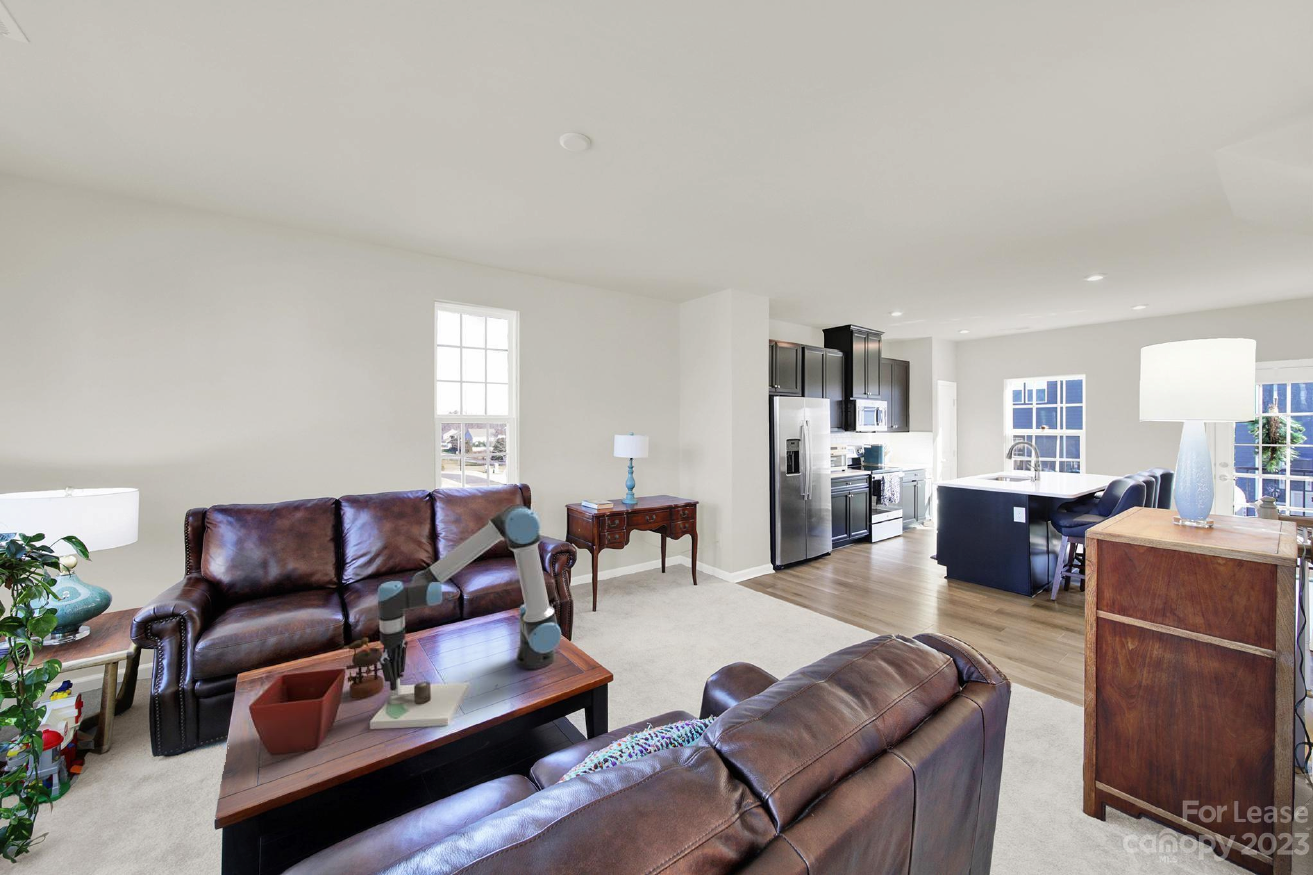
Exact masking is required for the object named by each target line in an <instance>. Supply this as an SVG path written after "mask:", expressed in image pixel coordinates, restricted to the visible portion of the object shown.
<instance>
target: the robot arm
mask: <svg viewBox="0 0 1313 875" xmlns="http://www.w3.org/2000/svg"><path fill="white" fill-rule="evenodd" d="M540 529H541V523H540V520H539V517H538V516H537V514H536V513H535V511H533V510H531V509H529V508H528V507H527V506H525V505H523V504H520V503H519V504H518V503H514V504H513V503H512V504H510V505H508V506H507V507H505V508H504V509H503V510H501V511H499V512H498V513H496V515H494V516H493V517H492V518H490V519H489V520H488V522H487V525H485V526H483V527H482V528H480V529H479V531H477V532H476V533H474V534H473V535H472V536H470V537H468V538H467V539H466V540H465V541H463V542H462V543H460V544H459V545H458V546H456V547H454V549H453V550H451V551H450V552H448V553H447V554H446V555H444V556H443V557H441V558H440V559H439V560H437V561H436V562H435V563H433V564H432V565H430V566H429V567H427V568H426V569H425V570H422V571H419V572H417V573H416V574H414V575H413V577H412V578H411V581H410V586H404V584H403V582H402V581H399V580H396V581H394V580H392V581H387V582H383V583H381V584H380V585H379V586H378V589H377V606H378V607H377V608H378V620H379V623H378V624H379V631H380V632H379V641H380V644H381V645H382V646H383V650H382V657H379V659H378V661H379V662H378V663H379V664H380V668H382V670H381V671H382V675H383V680H384V682H387V683H389V688H390V696H391V695H401V678H404V674H403V673H404V672H405V669H406V658H407V648H408V645H409V642H408V641H404V640H405V639H406V627H405V626H406V619H405V610H406V611H407V610H408V611H409V610H412V609H420V608H425V607H433V606H435V605H436V606H437V605H440V604H441V603H442V602H443V591H442V584H443V583H445V582H446V581H447V580H448V579H450V578H452V577H453V576H454V575H455V574H457V573H458V572H460V571H461V570H462V569H463V568H465V567H466V566H467V565H468V564H470V563H471V562H473V561H474V560H475V559H476V558H478V557H480V555H482V554H483V553H485V552H486V551H488V550H489V549H490V548H492V547H493V546H494V545H495V544H497V543H498V542H500V541H505V540H506V541H507V546H508V549H509V550H511V551H512V552H513V554H514V558H515V565H516V568H517V573H518V578H519V583H520V588H521V594H522V598H523V603H524V604H521V605H520V606H519V607H518V608H519V610H518V618H519V646H518V649H517V653H516V656H515V665H516V666H517V667H519V668H521V669H525V670H536V669H537V670H538V669H542V668H546V667H548V666H549V665H551V664H552V663H553V662H555V659H556V653H555V649H556V648H557V647H558V645H559V644H560V642H561V640H562V631H561V628H560V626H559V625H558V622H557V616H556V612H555V608H554V607H552V606H550V603H549V597H548V592H547V587H546V581H545V577H544V571H543V566H542V562H541V558H540V552H539V547H538V545H539V544H540V543H541V535H540Z"/></svg>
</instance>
